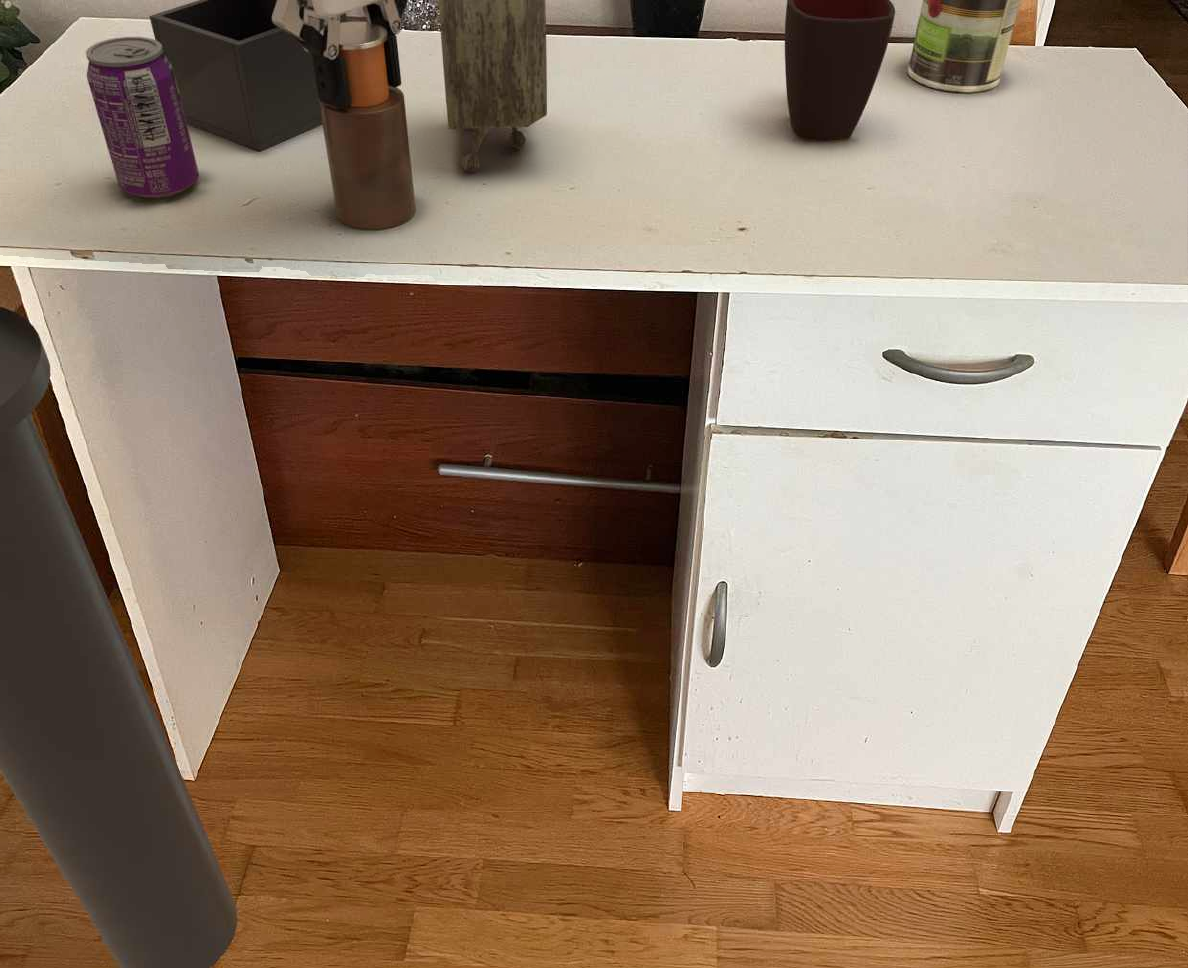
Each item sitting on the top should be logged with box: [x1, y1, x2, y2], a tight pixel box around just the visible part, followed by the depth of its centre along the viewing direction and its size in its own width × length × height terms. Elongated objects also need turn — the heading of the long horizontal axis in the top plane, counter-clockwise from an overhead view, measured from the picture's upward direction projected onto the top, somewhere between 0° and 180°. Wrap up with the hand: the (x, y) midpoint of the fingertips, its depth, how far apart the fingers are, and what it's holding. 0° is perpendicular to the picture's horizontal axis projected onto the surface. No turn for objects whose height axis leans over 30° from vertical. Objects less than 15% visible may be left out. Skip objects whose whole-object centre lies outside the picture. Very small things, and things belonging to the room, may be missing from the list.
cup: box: [784, 0, 896, 142], centre depth 111 cm, size 10×14×12 cm
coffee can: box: [907, 0, 1022, 94], centre depth 120 cm, size 10×10×14 cm
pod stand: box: [319, 86, 417, 231], centre depth 96 cm, size 7×7×10 cm
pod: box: [320, 21, 389, 108], centre depth 91 cm, size 5×5×5 cm
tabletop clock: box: [437, 0, 548, 173], centre depth 101 cm, size 14×9×25 cm, turn 6°
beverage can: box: [85, 36, 200, 199], centre depth 98 cm, size 7×7×12 cm
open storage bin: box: [149, 0, 348, 152], centre depth 111 cm, size 14×13×10 cm
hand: (360, 91), depth 92 cm, fingers closed on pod, 5 cm apart
